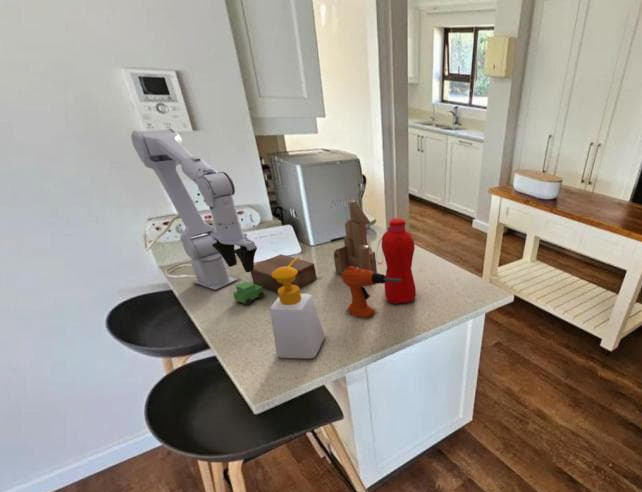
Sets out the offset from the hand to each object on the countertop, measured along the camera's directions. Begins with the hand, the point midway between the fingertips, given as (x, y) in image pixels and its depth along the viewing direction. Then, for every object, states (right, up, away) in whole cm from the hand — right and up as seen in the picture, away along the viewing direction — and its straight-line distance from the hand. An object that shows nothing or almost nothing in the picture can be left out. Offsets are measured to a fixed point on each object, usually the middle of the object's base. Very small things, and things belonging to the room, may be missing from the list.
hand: (241, 268), depth 104 cm
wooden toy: (+27, 0, +22) cm, 35 cm away
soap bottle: (+23, -21, -10) cm, 32 cm away
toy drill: (+38, -14, +2) cm, 40 cm away
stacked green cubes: (-1, -9, +6) cm, 10 cm away
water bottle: (+43, -8, +11) cm, 45 cm away
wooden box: (+5, -2, +16) cm, 17 cm away
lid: (+5, +2, +13) cm, 14 cm away
